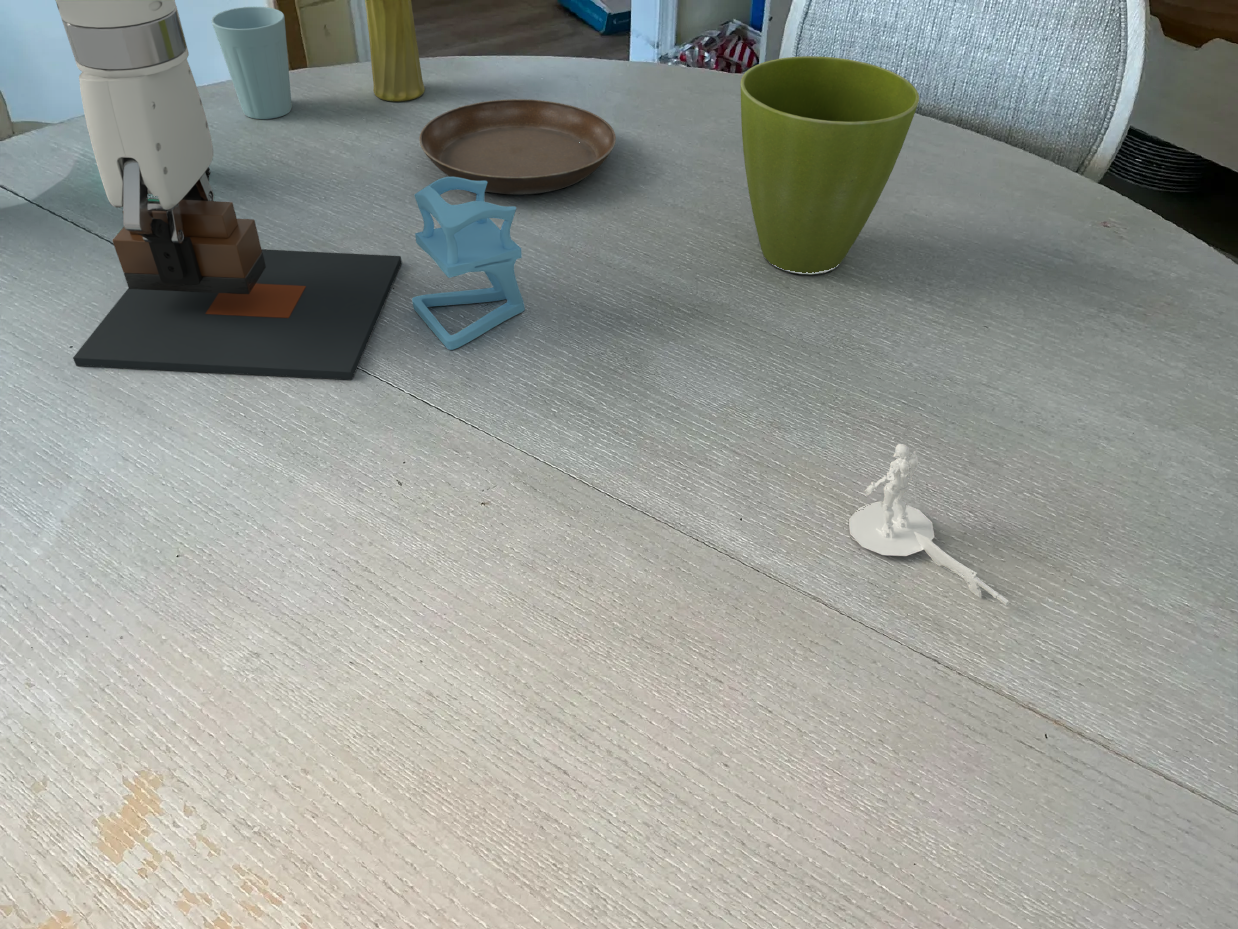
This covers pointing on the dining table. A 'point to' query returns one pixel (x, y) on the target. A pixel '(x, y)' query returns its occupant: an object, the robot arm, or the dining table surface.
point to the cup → (256, 59)
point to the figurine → (904, 523)
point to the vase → (394, 50)
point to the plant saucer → (518, 144)
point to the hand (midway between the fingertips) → (193, 263)
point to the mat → (254, 321)
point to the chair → (468, 255)
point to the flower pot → (819, 152)
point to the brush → (200, 250)
